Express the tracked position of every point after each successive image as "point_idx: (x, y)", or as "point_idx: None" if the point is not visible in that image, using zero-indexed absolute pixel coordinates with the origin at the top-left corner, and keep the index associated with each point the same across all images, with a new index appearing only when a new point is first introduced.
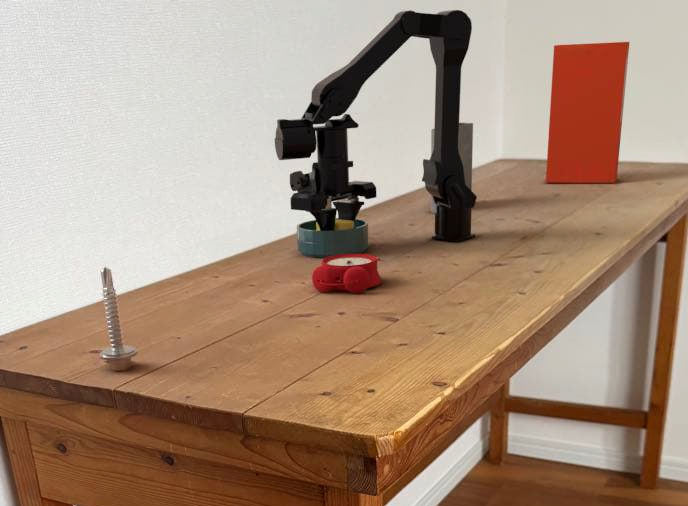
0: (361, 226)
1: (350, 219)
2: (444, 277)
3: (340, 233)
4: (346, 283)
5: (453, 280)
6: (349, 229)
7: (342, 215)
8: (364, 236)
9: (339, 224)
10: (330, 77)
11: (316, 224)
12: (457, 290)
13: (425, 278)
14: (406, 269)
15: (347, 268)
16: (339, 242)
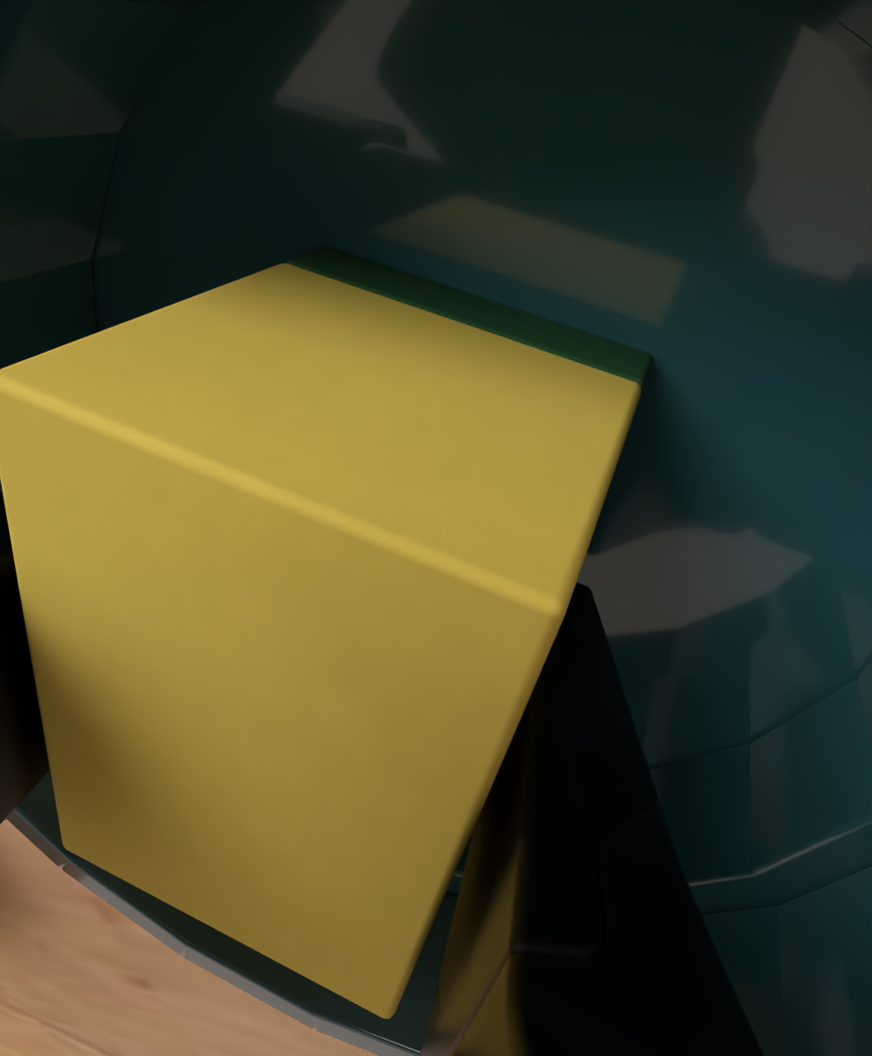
0: (301, 1016)
1: (434, 1007)
2: (131, 1033)
3: (35, 787)
4: None
5: (114, 1044)
6: (106, 898)
7: (472, 978)
8: None
9: (67, 845)
10: None
11: (27, 369)
12: (27, 1025)
13: (83, 984)
14: (162, 950)
15: None
16: None
